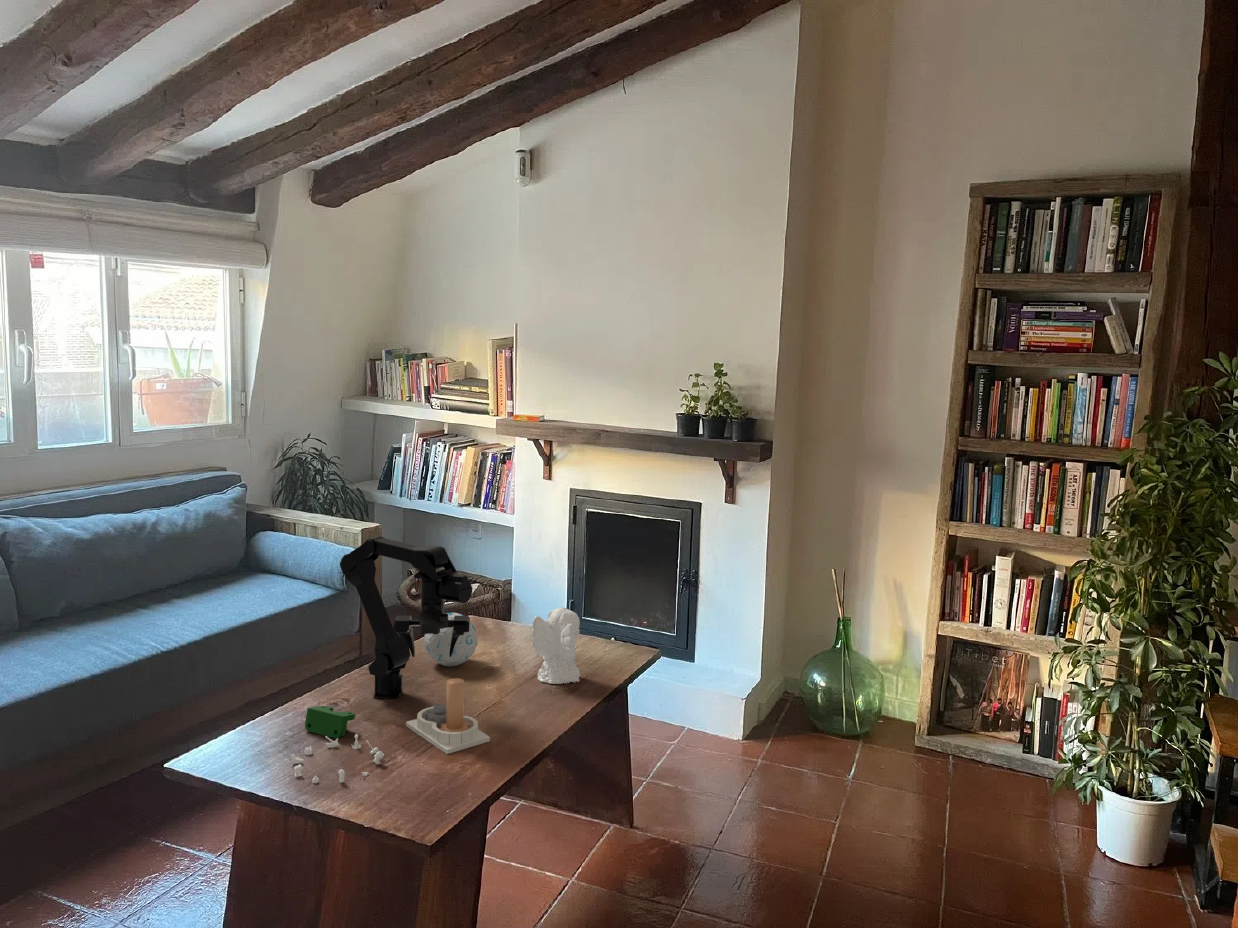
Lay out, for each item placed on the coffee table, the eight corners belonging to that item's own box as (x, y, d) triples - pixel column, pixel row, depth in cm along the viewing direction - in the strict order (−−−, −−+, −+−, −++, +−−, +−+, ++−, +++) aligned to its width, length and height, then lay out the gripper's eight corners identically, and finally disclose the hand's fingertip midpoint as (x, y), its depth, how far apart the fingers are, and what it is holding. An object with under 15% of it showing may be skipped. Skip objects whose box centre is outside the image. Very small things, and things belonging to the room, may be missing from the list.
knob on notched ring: (435, 738, 219) (435, 684, 217) (447, 726, 226) (448, 674, 224) (462, 742, 217) (462, 688, 216) (473, 730, 224) (474, 678, 222)
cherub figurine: (591, 676, 264) (594, 607, 262) (572, 691, 253) (574, 619, 250) (549, 668, 269) (551, 600, 267) (529, 683, 258) (530, 612, 255)
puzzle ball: (451, 651, 281) (451, 603, 279) (488, 663, 272) (488, 613, 270) (412, 665, 268) (412, 614, 266) (449, 677, 260) (450, 625, 258)
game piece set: (397, 751, 214) (397, 735, 214) (354, 792, 195) (354, 774, 195) (320, 740, 219) (320, 725, 218) (270, 779, 199) (270, 762, 199)
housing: (405, 725, 228) (405, 703, 227) (447, 714, 235) (448, 693, 234) (446, 754, 213) (446, 730, 212) (489, 741, 221) (490, 718, 220)
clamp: (346, 747, 224) (362, 717, 223) (330, 751, 219) (347, 720, 218) (315, 720, 228) (331, 691, 228) (299, 723, 223) (315, 693, 223)
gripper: (390, 606, 227) (390, 667, 230) (468, 606, 230) (467, 667, 232) (396, 593, 238) (395, 652, 240) (470, 593, 241) (469, 652, 243)
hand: (432, 656), depth 239 cm, fingers open, 9 cm apart
